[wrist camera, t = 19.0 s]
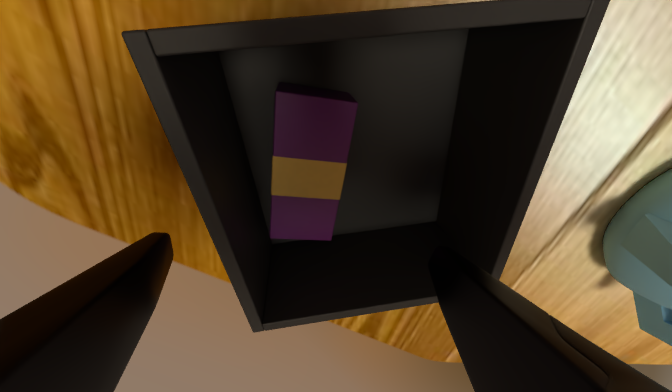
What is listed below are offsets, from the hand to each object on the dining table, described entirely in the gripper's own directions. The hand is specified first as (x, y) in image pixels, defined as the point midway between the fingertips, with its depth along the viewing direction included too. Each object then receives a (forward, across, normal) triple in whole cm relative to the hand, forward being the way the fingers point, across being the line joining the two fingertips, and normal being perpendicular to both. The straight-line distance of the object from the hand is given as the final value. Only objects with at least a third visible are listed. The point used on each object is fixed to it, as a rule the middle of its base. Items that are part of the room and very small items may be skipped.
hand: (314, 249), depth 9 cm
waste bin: (+8, -3, -1) cm, 8 cm away
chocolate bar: (+8, 0, 0) cm, 8 cm away
